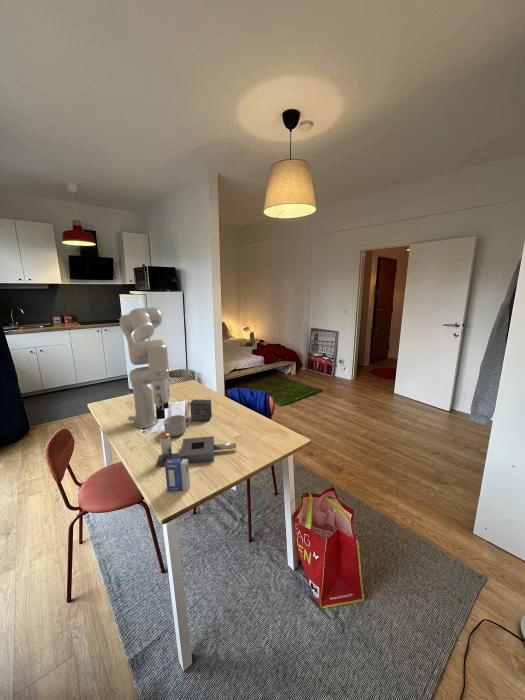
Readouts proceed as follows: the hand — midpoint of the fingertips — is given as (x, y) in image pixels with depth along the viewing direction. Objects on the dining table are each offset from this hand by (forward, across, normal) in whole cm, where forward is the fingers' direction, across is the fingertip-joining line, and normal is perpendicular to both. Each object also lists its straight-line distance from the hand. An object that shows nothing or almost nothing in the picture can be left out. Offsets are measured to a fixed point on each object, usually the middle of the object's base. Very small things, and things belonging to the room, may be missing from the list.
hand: (163, 413), depth 120 cm
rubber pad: (+22, 0, 0) cm, 22 cm away
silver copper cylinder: (+22, 0, 0) cm, 22 cm away
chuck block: (+22, +3, -18) cm, 29 cm away
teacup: (+22, +24, -2) cm, 33 cm away
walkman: (+22, -19, -7) cm, 30 cm away
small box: (+22, +38, -13) cm, 46 cm away
